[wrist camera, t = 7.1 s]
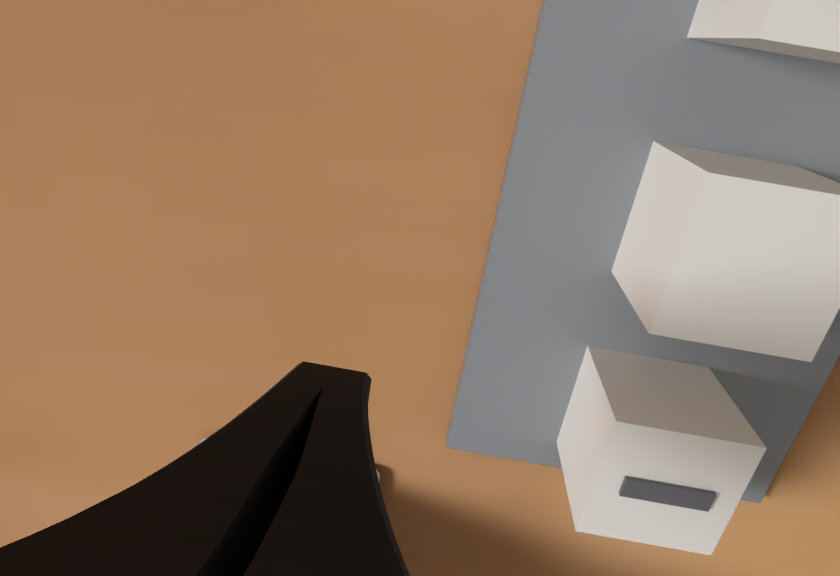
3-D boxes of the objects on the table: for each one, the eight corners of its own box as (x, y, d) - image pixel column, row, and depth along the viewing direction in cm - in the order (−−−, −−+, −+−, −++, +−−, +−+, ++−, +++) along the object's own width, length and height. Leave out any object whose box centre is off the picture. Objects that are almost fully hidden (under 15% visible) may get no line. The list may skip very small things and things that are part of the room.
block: (671, 462, 23) (717, 560, 18) (556, 441, 23) (576, 534, 18) (712, 367, 21) (774, 452, 17) (587, 345, 21) (617, 424, 17)
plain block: (740, 294, 20) (811, 362, 16) (611, 271, 20) (648, 333, 16) (795, 165, 18) (892, 204, 14) (653, 140, 18) (708, 172, 14)
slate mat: (753, 492, 24) (760, 503, 23) (446, 438, 24) (446, 447, 23) (1090, -146, 15) (1114, -153, 14) (594, -229, 15) (598, -239, 14)
